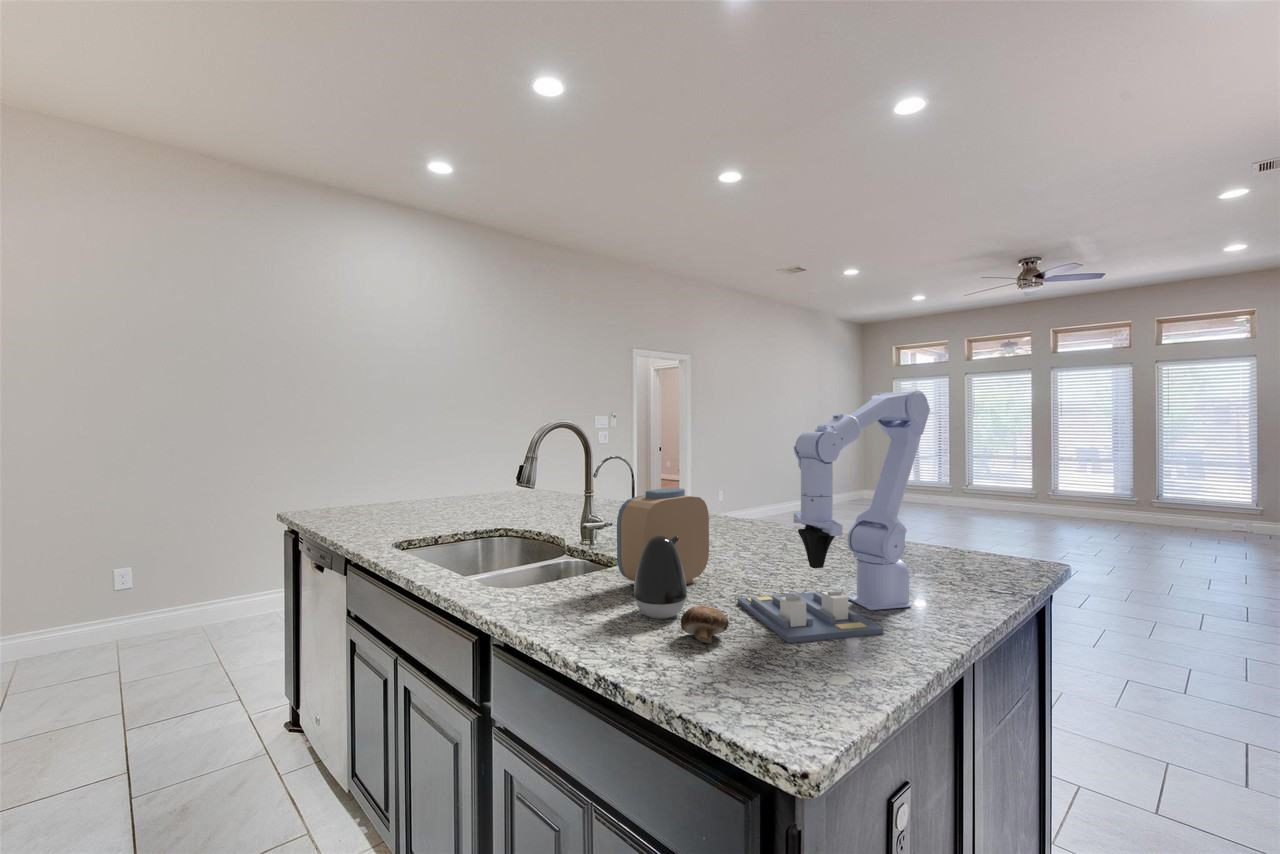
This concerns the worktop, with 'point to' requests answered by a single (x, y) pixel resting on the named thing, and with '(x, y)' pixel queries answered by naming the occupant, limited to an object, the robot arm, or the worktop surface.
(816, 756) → the worktop surface
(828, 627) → the switch board
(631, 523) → the alarm clock
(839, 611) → the tab
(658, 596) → the pump dispenser
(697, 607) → the mushroom
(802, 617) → the tab
